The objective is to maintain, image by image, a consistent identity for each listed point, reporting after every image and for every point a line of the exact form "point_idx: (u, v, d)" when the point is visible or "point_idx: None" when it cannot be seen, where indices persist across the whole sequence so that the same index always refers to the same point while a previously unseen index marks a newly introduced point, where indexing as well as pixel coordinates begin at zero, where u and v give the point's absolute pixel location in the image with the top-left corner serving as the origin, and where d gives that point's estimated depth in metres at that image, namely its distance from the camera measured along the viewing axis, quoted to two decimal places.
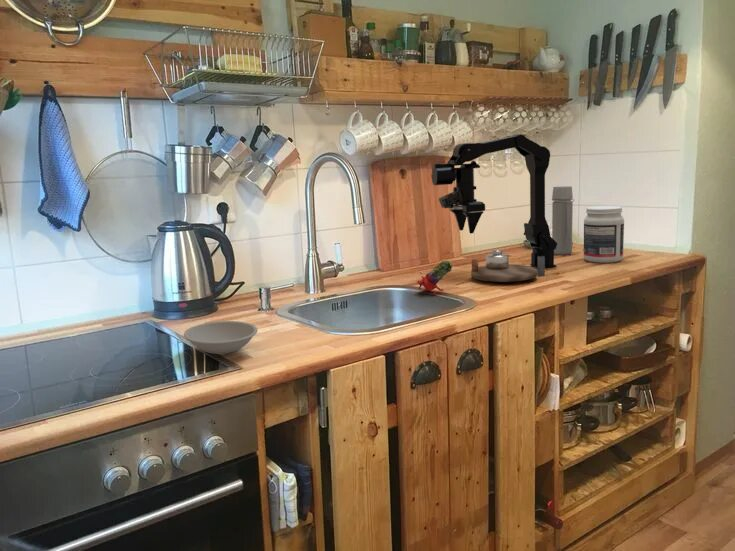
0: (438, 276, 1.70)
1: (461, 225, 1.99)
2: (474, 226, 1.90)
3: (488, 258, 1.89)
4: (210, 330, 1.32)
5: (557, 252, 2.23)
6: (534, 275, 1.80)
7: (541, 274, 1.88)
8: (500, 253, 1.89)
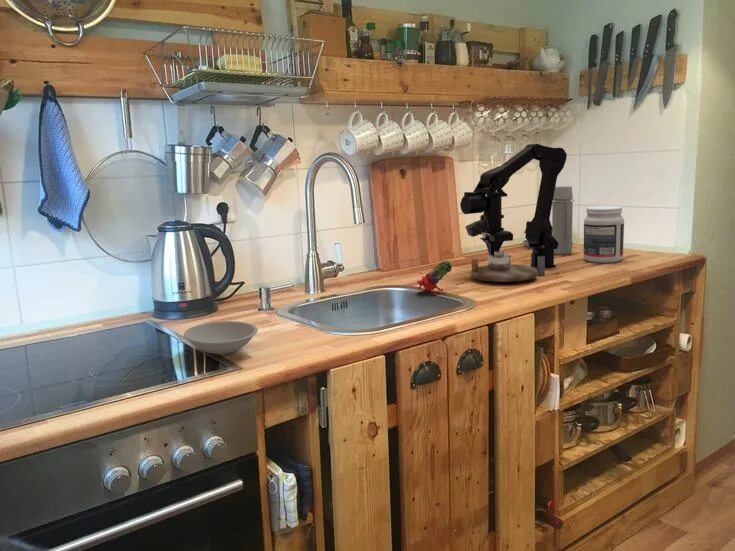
0: (438, 276, 1.70)
1: None
2: None
3: (490, 259, 1.87)
4: (210, 330, 1.32)
5: (557, 252, 2.23)
6: (534, 275, 1.80)
7: (541, 274, 1.88)
8: (502, 254, 1.88)
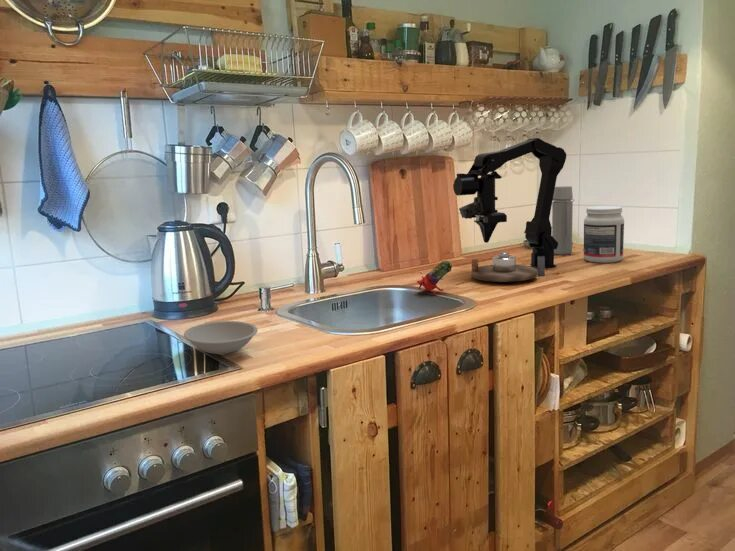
0: (438, 276, 1.70)
1: None
2: (489, 235, 1.93)
3: (495, 261, 1.84)
4: (210, 330, 1.32)
5: (557, 252, 2.23)
6: (534, 275, 1.80)
7: (541, 274, 1.88)
8: (507, 255, 1.84)
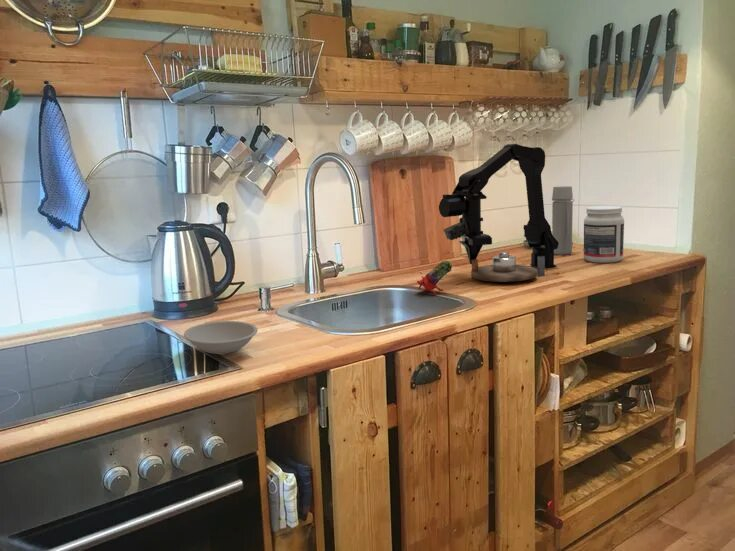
0: (438, 276, 1.70)
1: (472, 258, 1.89)
2: (475, 257, 1.88)
3: (495, 261, 1.84)
4: (210, 330, 1.32)
5: (557, 252, 2.23)
6: (534, 275, 1.80)
7: (541, 274, 1.88)
8: (507, 255, 1.84)
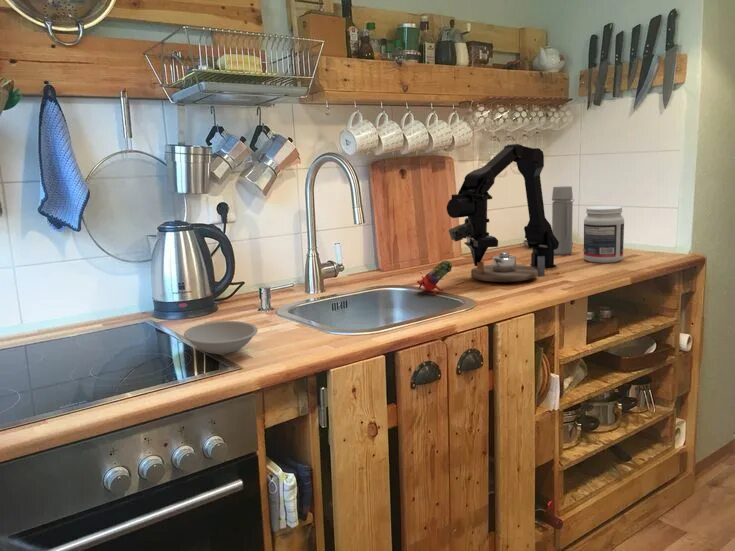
0: (438, 276, 1.70)
1: None
2: (479, 259, 1.83)
3: (501, 261, 1.82)
4: (210, 330, 1.32)
5: (557, 252, 2.23)
6: None
7: (541, 274, 1.88)
8: (508, 255, 1.85)
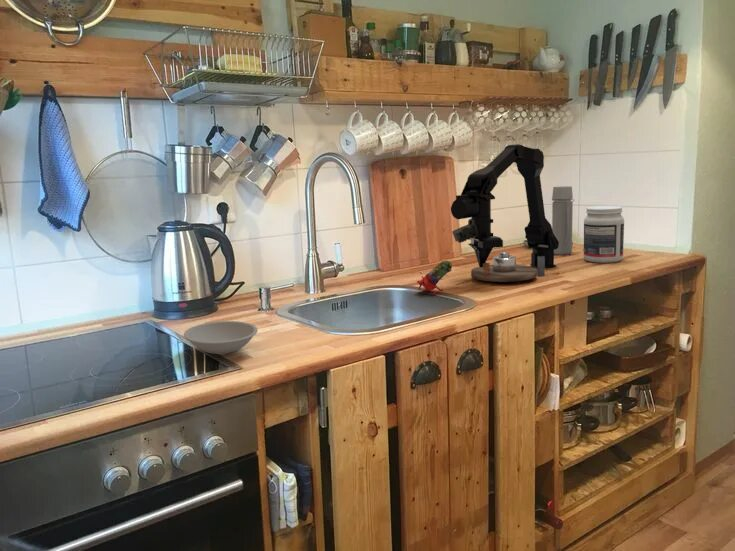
0: (438, 276, 1.70)
1: None
2: (484, 260, 1.81)
3: (504, 261, 1.82)
4: (210, 330, 1.32)
5: (557, 252, 2.23)
6: None
7: (541, 274, 1.88)
8: None
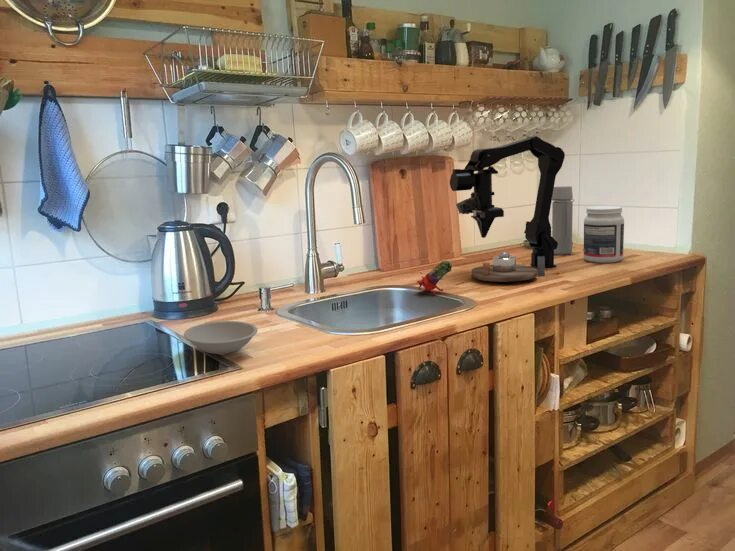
0: (438, 276, 1.70)
1: None
2: (486, 230, 1.93)
3: (504, 261, 1.82)
4: (210, 330, 1.32)
5: (557, 252, 2.23)
6: None
7: (541, 274, 1.88)
8: None
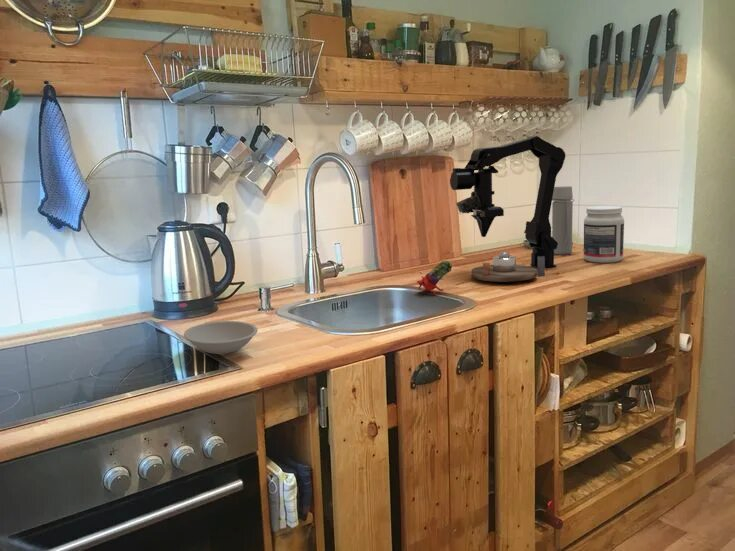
0: (438, 276, 1.70)
1: None
2: (486, 230, 1.93)
3: (504, 261, 1.82)
4: (210, 330, 1.32)
5: (557, 252, 2.23)
6: None
7: (541, 274, 1.88)
8: None
